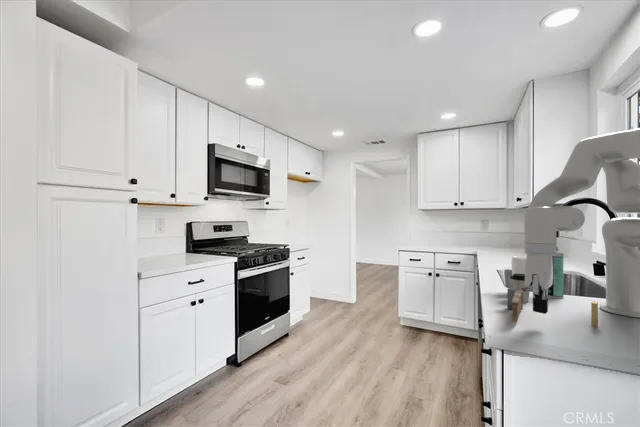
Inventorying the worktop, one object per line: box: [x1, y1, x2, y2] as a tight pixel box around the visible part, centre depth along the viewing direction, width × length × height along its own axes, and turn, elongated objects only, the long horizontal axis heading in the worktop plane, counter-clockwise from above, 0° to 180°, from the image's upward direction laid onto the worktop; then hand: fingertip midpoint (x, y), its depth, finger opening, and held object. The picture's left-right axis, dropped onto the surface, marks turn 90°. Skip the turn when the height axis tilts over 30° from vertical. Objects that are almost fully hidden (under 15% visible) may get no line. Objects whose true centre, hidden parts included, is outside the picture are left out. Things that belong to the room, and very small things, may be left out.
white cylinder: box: [511, 255, 527, 276], centre depth 123 cm, size 7×7×15 cm
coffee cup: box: [509, 273, 531, 304], centre depth 113 cm, size 7×7×10 cm
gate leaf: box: [511, 289, 524, 323], centre depth 95 cm, size 19×2×7 cm, turn 143°
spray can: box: [547, 248, 564, 300], centre depth 119 cm, size 6×6×20 cm
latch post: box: [590, 301, 599, 329], centre depth 88 cm, size 2×1×7 cm, turn 131°
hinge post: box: [507, 287, 516, 311], centre depth 104 cm, size 2×2×7 cm
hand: (540, 311), depth 87 cm, fingers closed
